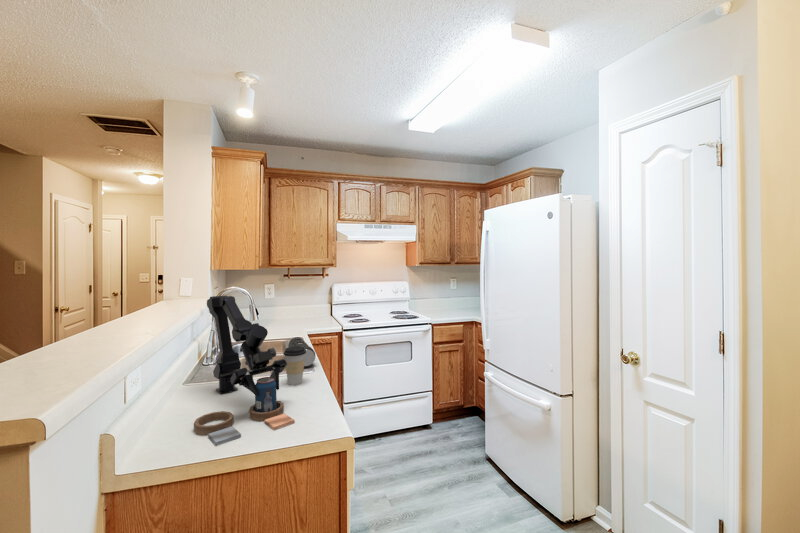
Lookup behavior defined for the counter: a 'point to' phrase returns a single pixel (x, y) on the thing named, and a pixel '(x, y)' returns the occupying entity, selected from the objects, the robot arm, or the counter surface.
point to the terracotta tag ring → (272, 417)
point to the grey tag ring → (217, 427)
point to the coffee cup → (294, 364)
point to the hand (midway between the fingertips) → (268, 392)
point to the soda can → (266, 395)
